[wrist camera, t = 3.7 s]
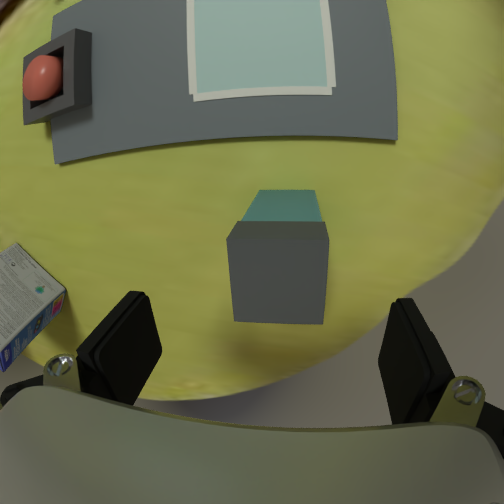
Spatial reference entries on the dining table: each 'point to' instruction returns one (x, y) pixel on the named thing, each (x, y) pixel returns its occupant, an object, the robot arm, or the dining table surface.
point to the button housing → (74, 77)
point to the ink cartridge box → (24, 302)
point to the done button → (43, 78)
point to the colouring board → (228, 72)
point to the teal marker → (279, 259)
